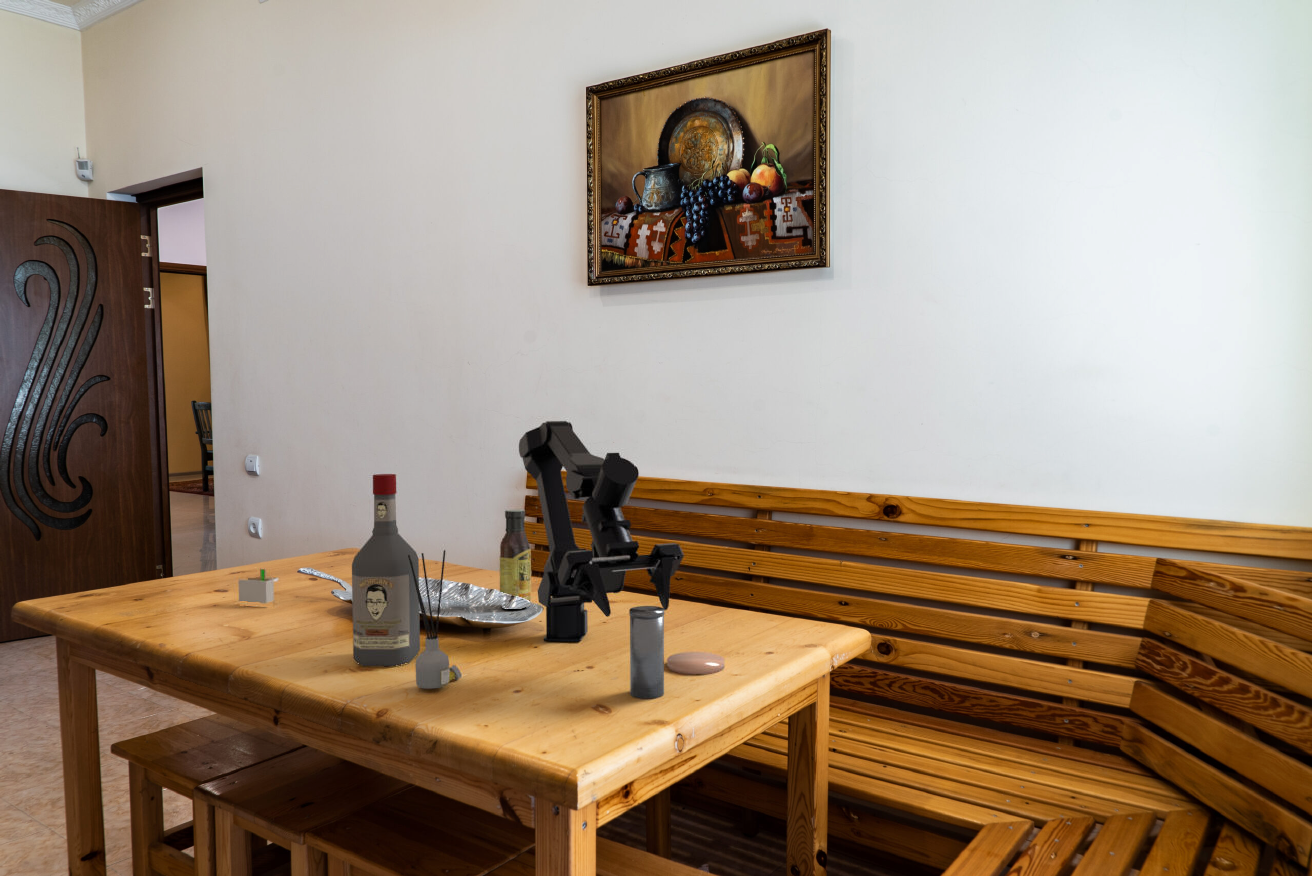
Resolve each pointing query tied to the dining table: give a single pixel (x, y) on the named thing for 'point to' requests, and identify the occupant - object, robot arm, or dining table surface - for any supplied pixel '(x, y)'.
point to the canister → (646, 652)
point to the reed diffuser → (432, 647)
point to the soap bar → (695, 663)
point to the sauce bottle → (515, 557)
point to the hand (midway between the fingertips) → (638, 611)
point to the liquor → (385, 588)
